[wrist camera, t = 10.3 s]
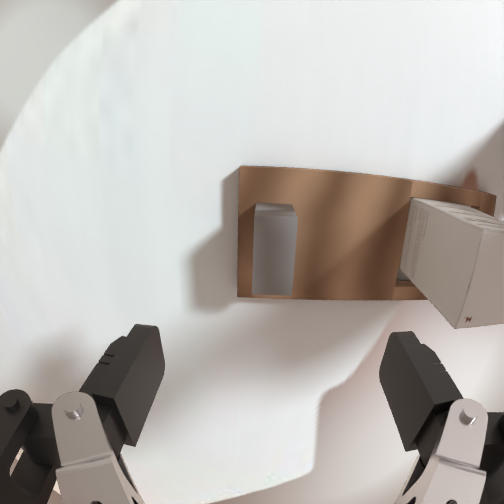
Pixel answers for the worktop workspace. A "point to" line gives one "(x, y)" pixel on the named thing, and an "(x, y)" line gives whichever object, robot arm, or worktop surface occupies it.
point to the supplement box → (456, 261)
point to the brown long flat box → (330, 232)
